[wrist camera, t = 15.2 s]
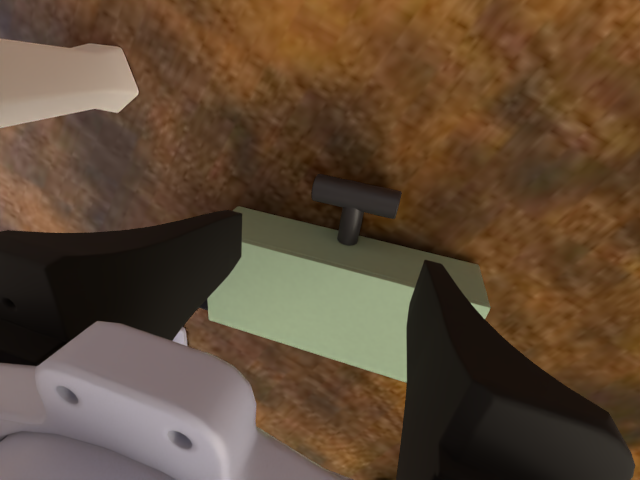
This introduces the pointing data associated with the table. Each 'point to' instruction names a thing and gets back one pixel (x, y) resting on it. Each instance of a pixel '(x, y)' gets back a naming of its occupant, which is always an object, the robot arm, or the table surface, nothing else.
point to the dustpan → (332, 281)
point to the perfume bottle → (61, 80)
